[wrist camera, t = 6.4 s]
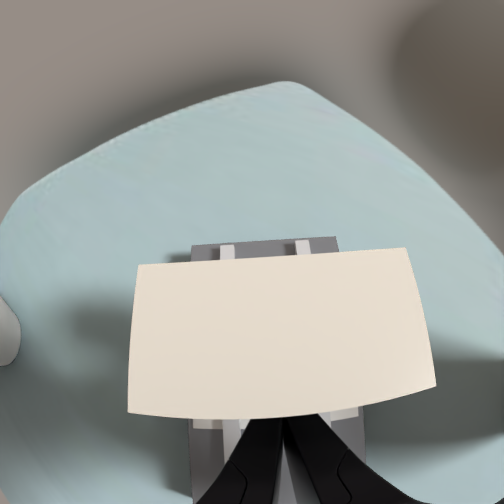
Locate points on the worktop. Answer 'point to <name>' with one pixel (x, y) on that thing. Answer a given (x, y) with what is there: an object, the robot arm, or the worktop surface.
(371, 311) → the plate
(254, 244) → the fader console
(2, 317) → the cup
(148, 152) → the worktop surface
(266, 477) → the robot arm
